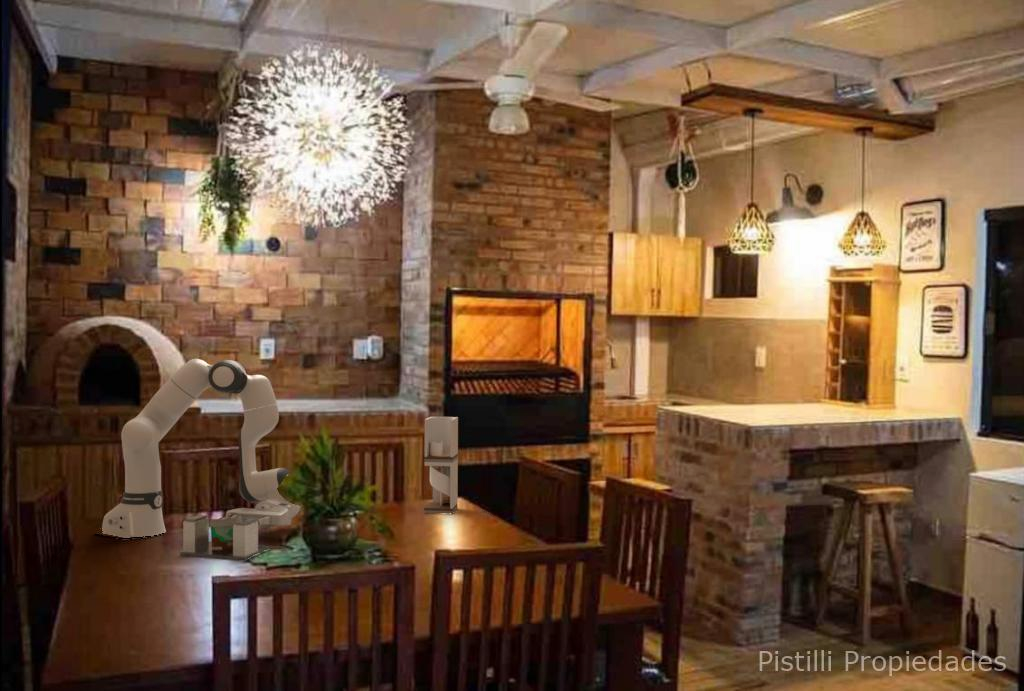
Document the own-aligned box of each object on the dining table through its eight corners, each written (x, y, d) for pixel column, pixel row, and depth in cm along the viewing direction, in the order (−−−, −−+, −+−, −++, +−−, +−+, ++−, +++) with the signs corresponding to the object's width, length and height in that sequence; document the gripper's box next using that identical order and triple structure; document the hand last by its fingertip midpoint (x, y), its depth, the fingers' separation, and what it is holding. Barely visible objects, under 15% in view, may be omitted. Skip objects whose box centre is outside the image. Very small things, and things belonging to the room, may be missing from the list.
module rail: (180, 555, 273) (180, 519, 273) (209, 544, 287) (209, 510, 287) (245, 561, 267) (245, 524, 267) (272, 549, 281) (272, 514, 281)
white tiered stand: (430, 507, 351) (430, 416, 350) (457, 508, 350) (457, 417, 349) (424, 513, 340) (424, 419, 339) (452, 514, 338) (453, 419, 338)
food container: (227, 554, 270) (227, 520, 270) (209, 553, 272) (209, 519, 272) (249, 545, 282) (249, 513, 282) (232, 544, 284) (232, 512, 284)
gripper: (240, 502, 302) (215, 509, 289) (295, 505, 297) (273, 513, 283) (240, 521, 302) (215, 529, 289) (295, 524, 297) (273, 533, 284)
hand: (244, 521), depth 286 cm, fingers open, 8 cm apart
